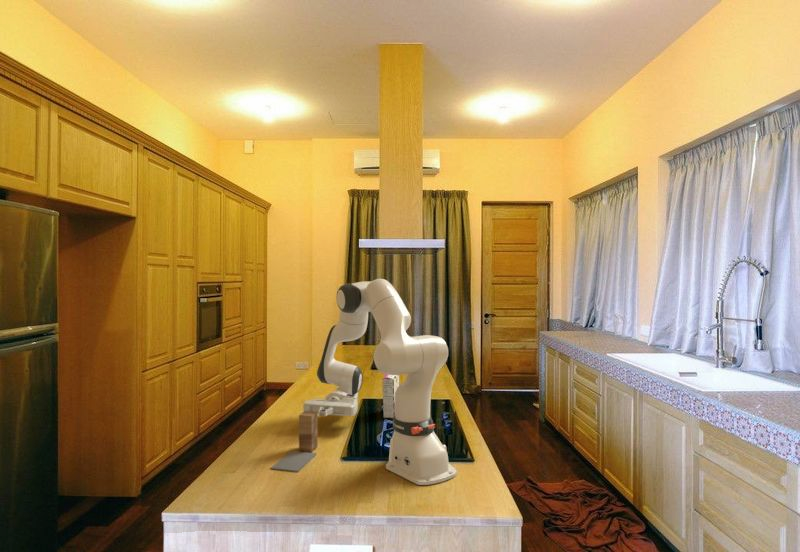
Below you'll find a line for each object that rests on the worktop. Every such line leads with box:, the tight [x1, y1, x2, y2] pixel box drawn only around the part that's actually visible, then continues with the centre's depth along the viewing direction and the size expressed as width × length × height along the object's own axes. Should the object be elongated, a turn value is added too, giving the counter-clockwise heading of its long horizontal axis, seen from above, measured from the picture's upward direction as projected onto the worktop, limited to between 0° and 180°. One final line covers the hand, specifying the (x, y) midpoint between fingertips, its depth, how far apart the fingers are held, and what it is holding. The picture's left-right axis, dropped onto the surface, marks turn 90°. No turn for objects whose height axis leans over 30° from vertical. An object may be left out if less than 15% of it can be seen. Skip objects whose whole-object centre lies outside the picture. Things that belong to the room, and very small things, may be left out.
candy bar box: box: [382, 374, 400, 419], centre depth 185 cm, size 11×5×16 cm, turn 168°
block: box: [298, 411, 318, 453], centre depth 149 cm, size 5×4×12 cm
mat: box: [270, 450, 317, 473], centre depth 139 cm, size 13×9×1 cm
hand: (321, 413), depth 159 cm, fingers closed
